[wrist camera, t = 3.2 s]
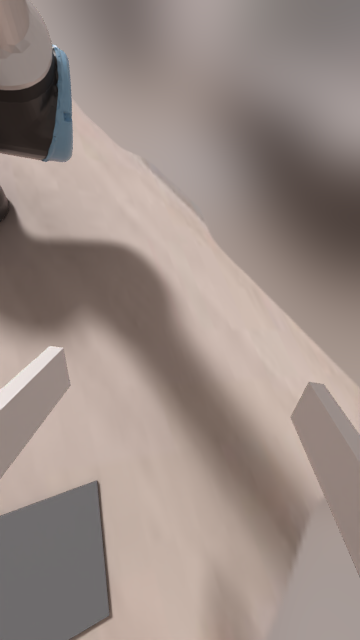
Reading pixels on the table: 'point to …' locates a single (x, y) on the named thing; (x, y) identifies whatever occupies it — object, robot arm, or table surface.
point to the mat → (53, 567)
